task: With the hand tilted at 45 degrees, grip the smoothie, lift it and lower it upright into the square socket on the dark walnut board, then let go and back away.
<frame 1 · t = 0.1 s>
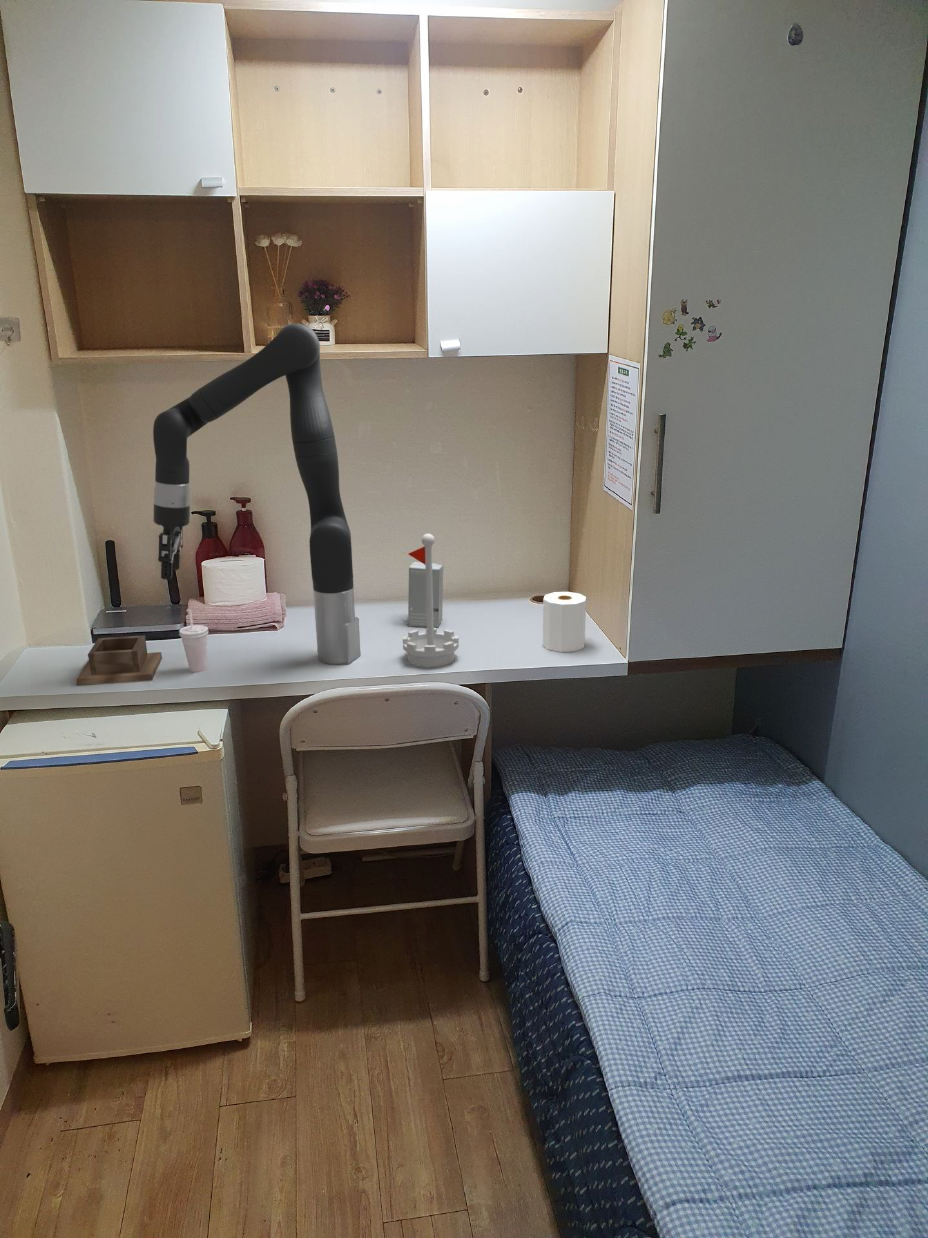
hand: (170, 573, 202), 22 cm above the table, tool pointing down, fingers open, 8 cm apart
flag stand: (431, 659, 213), on the table
smoothie: (198, 669, 208), on the table
socket board: (121, 671, 207), on the table
skincare box: (426, 623, 237), on the table
toilet paper: (563, 645, 220), on the table
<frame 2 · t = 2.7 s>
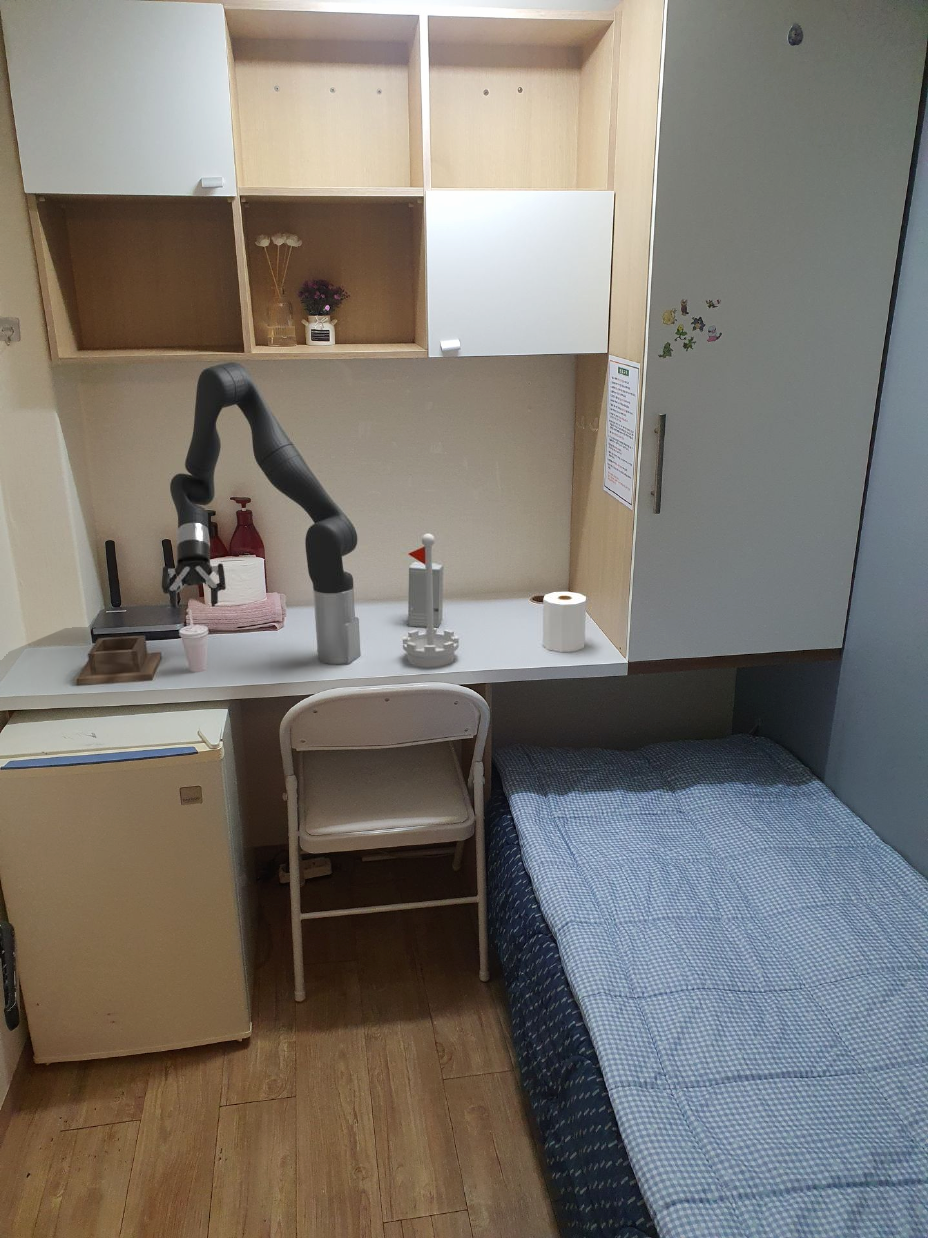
hand: (194, 606, 210), 13 cm above the table, tool tilted 45°, fingers open, 8 cm apart
nothing on the table moved.
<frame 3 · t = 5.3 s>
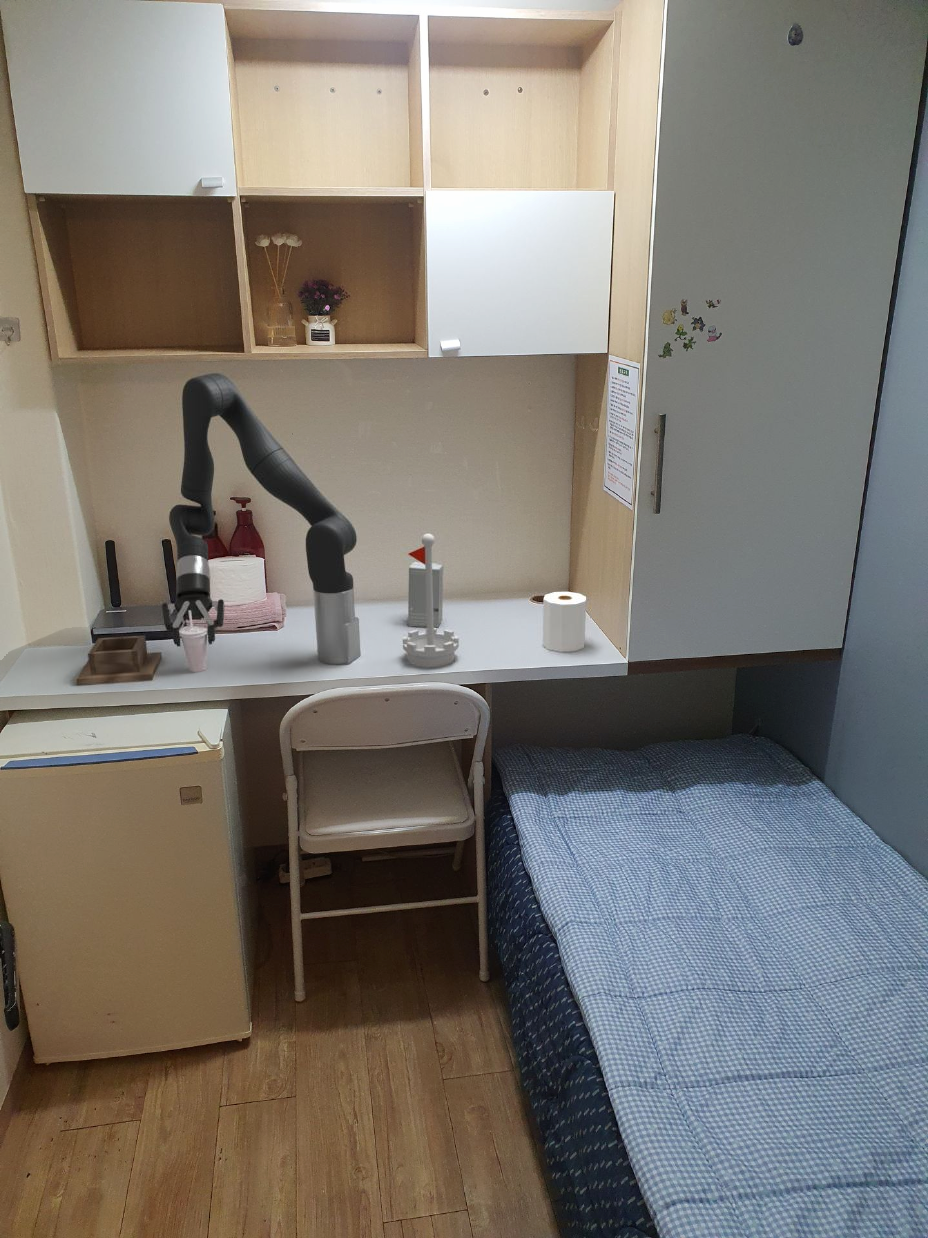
hand: (194, 643, 204), 7 cm above the table, tool tilted 45°, fingers closed on smoothie, 6 cm apart
smoothie: (198, 669, 208), on the table, touching gripper
everything else where it was.
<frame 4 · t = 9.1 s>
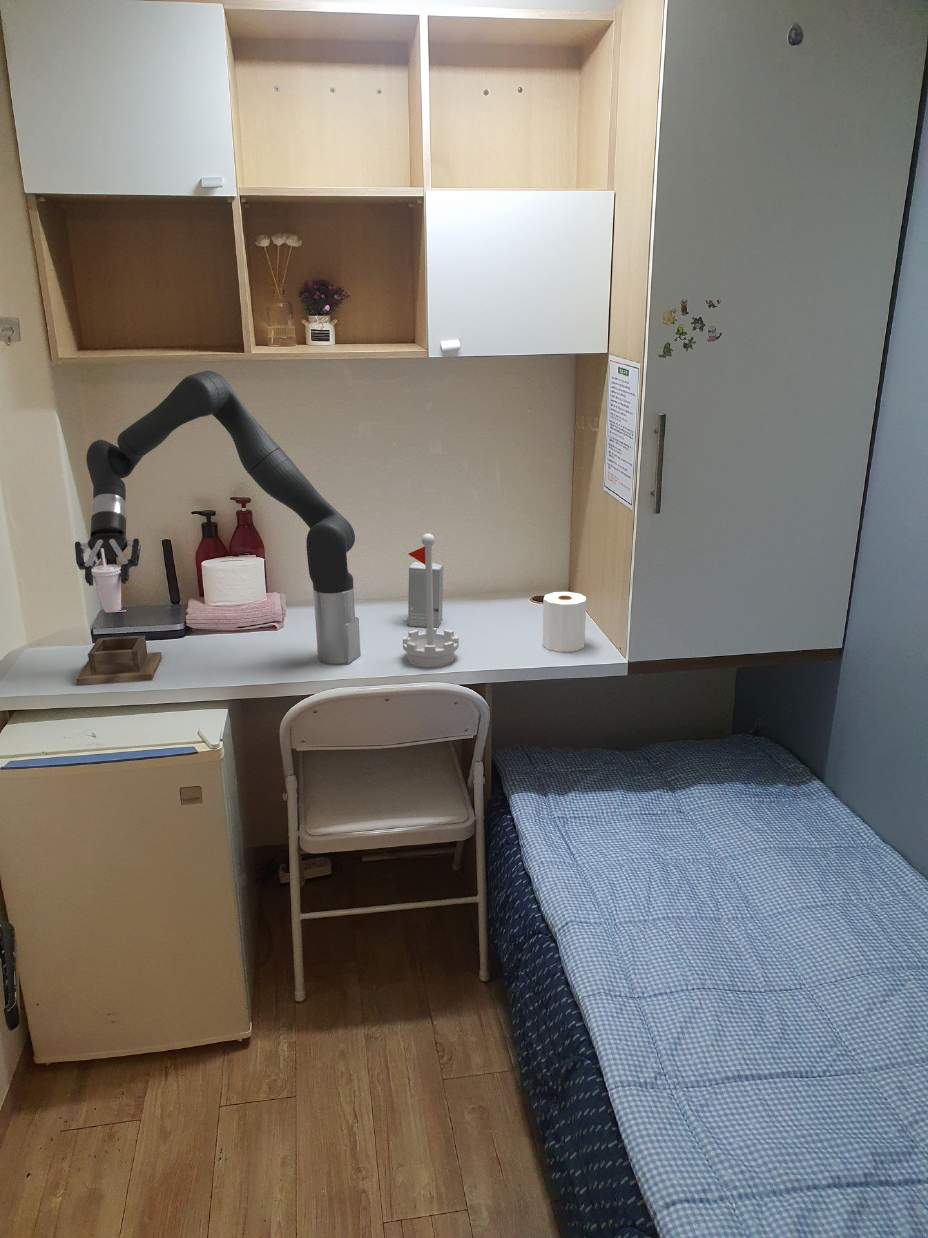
hand: (107, 582, 199), 22 cm above the table, tool tilted 45°, fingers closed on smoothie, 6 cm apart
smoothie: (112, 610, 203), point 15 cm above the table, touching gripper
everything else where it was.
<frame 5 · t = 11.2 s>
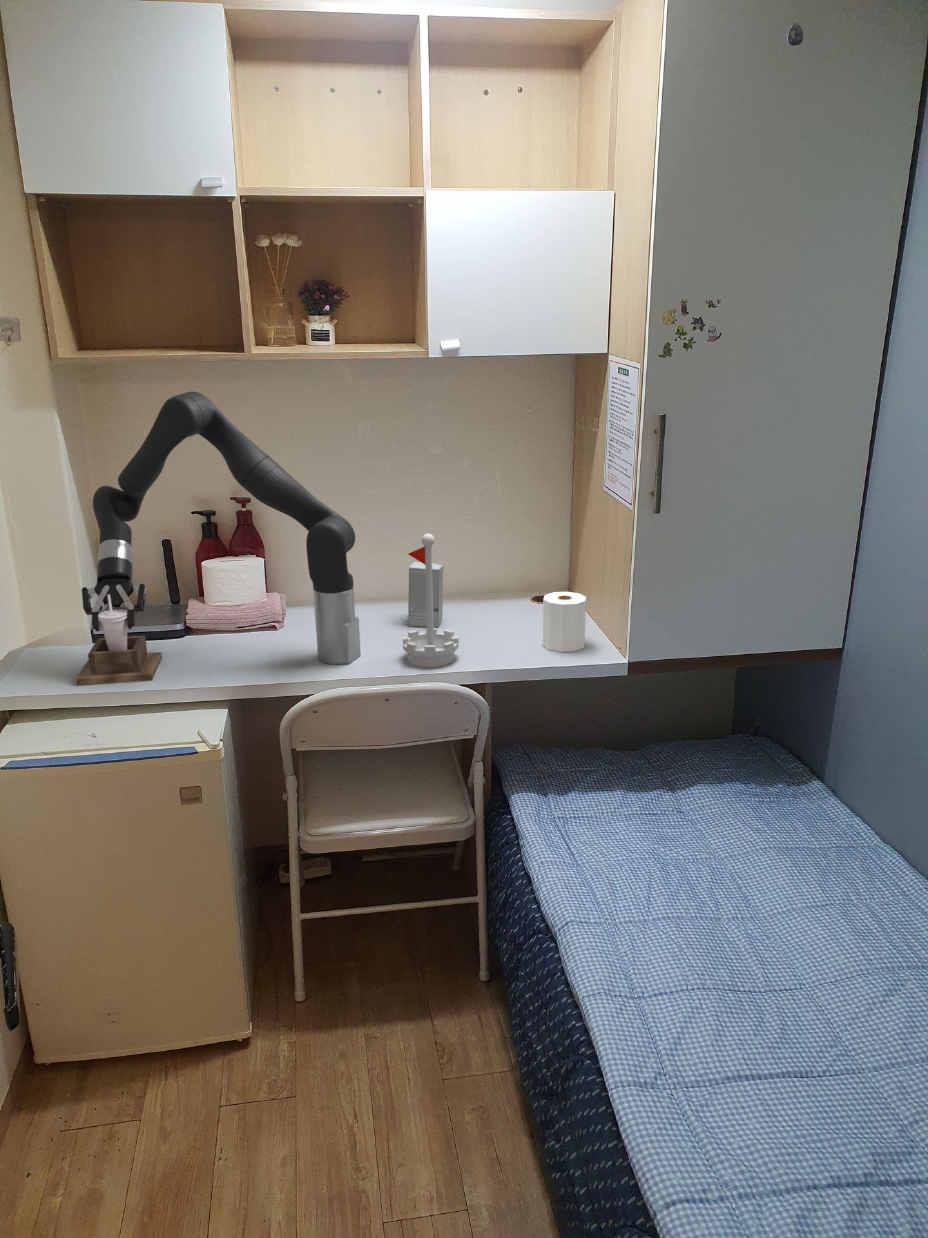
hand: (113, 628, 202), 11 cm above the table, tool tilted 45°, fingers closed on smoothie, 6 cm apart
smoothie: (118, 654, 206), point 4 cm above the table, touching gripper
everything else where it was.
when the fingers open (9 cm above the table, at t = 12.8 s): smoothie stays where it is, resting on socket board.
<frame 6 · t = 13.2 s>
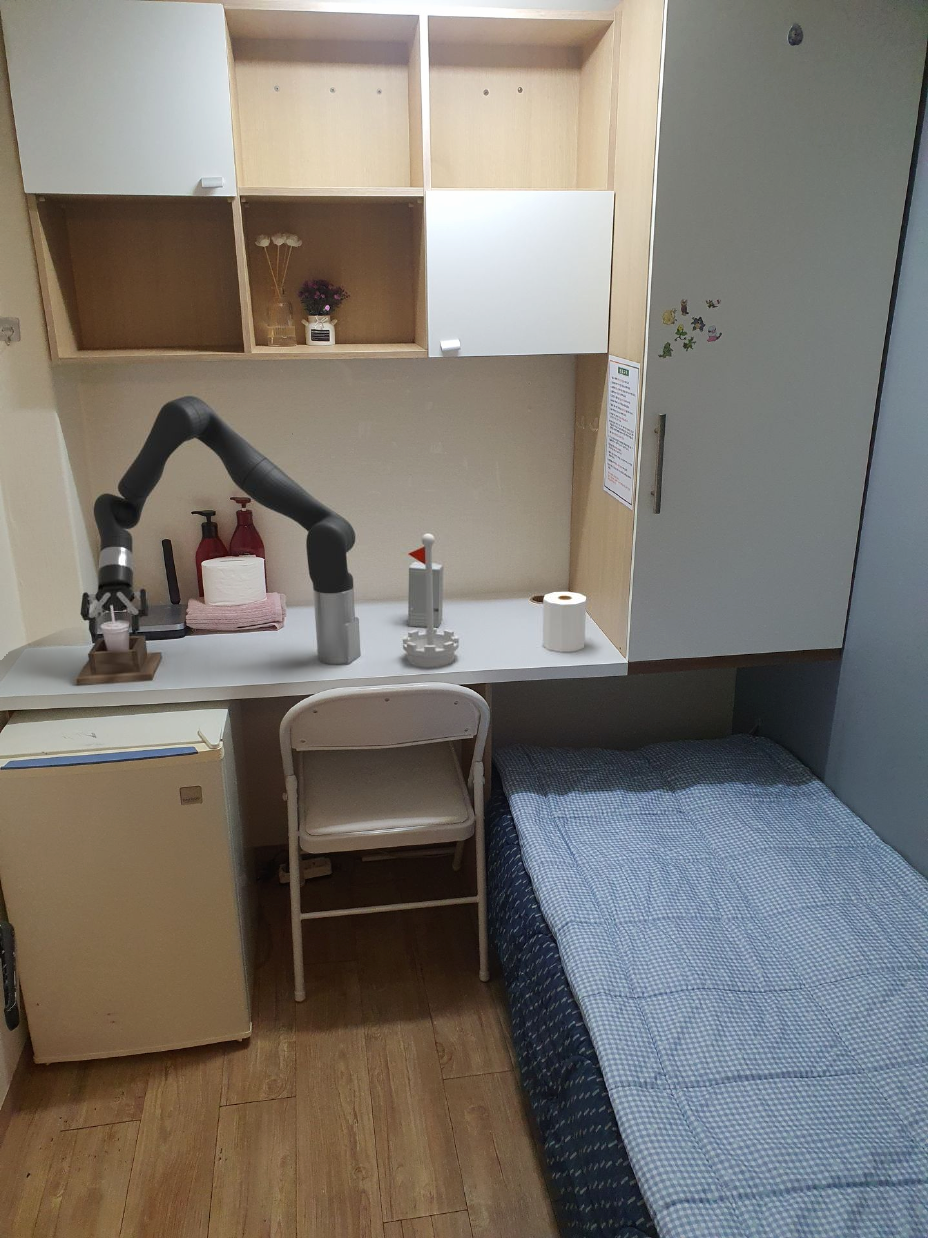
hand: (114, 633, 203), 10 cm above the table, tool tilted 45°, fingers open, 8 cm apart
smoothie: (120, 665, 207), point 1 cm above the table, touching socket board
everything else where it was.
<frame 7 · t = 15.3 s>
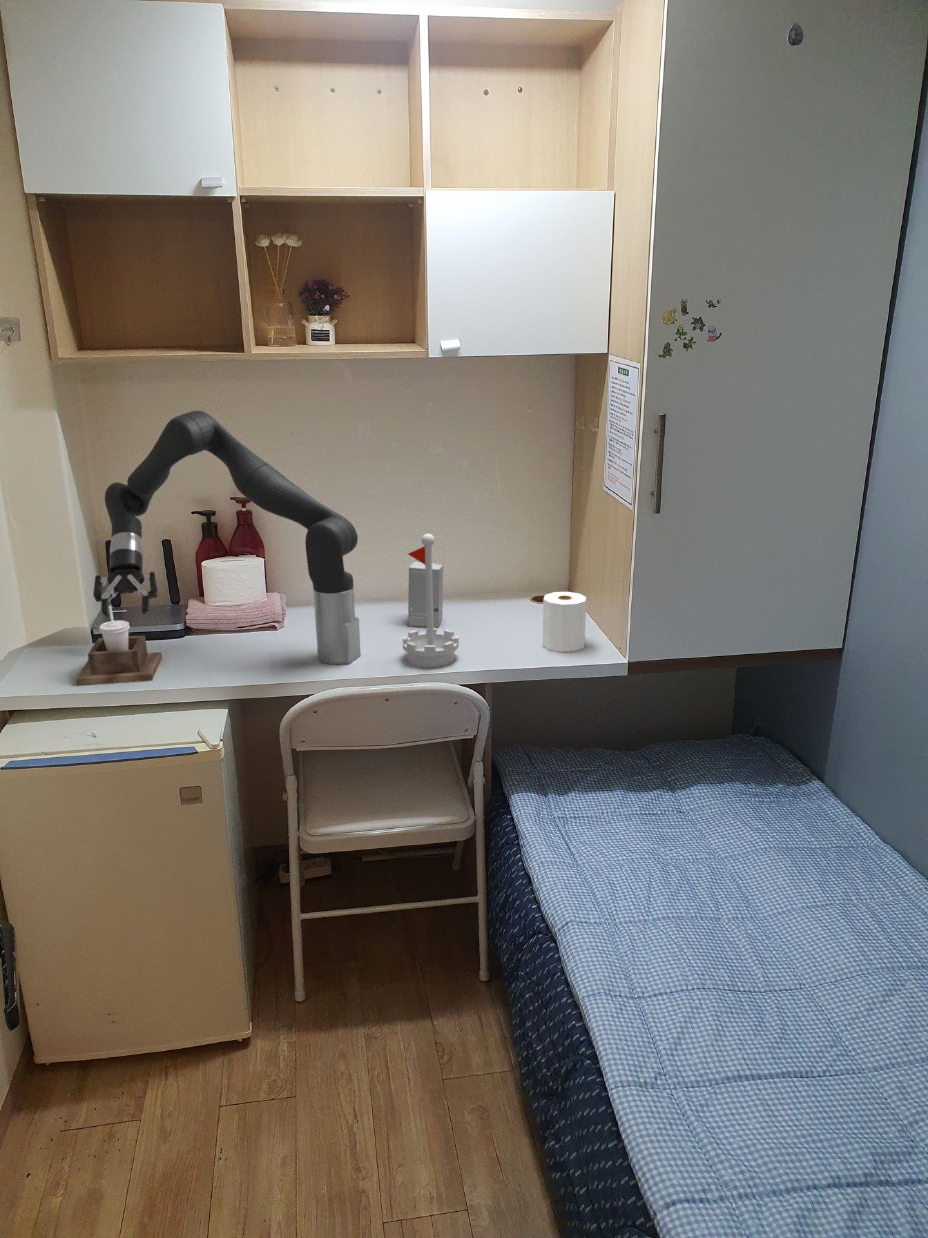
hand: (125, 613, 215), 10 cm above the table, tool tilted 45°, fingers open, 8 cm apart
nothing on the table moved.
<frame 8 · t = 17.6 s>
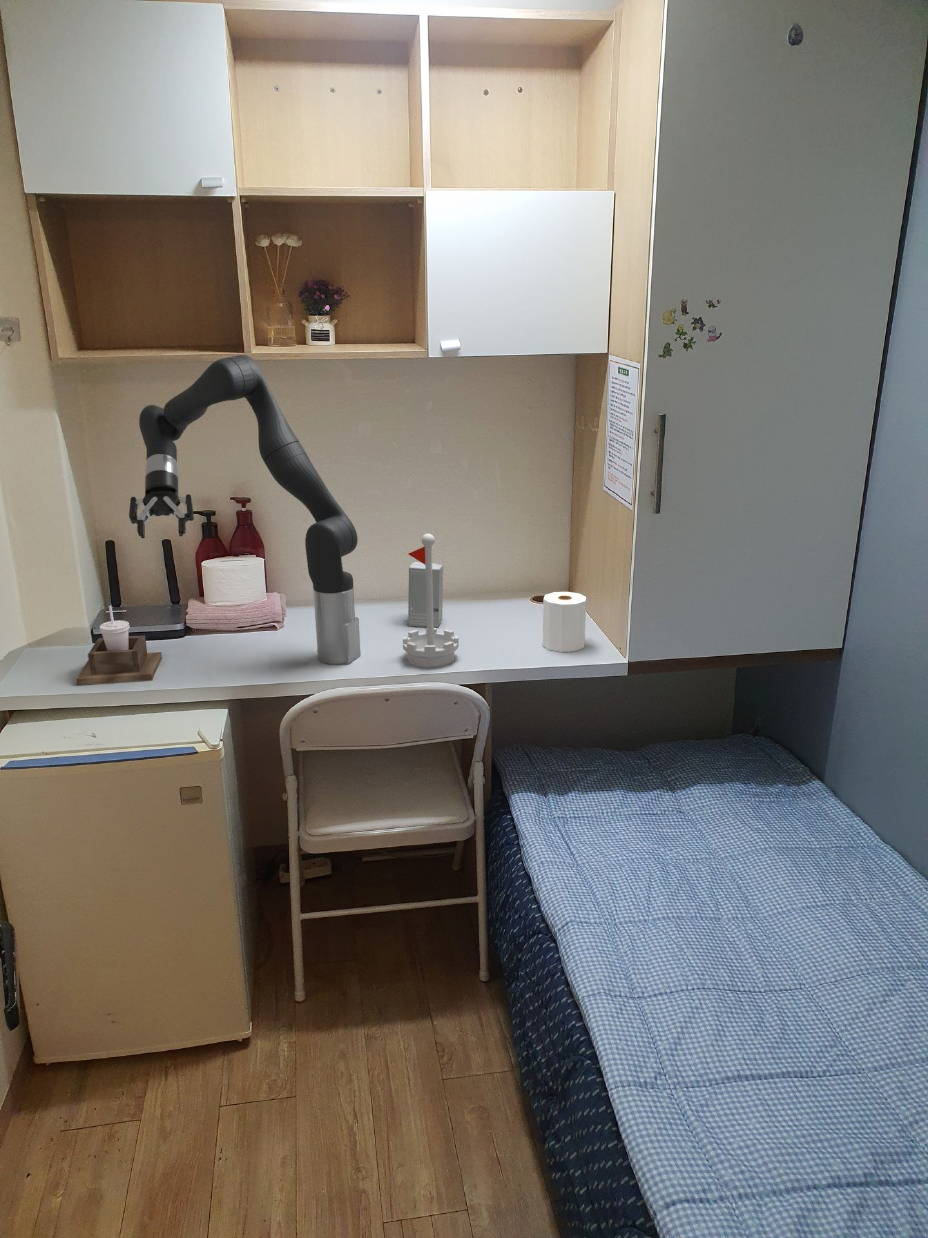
hand: (161, 535, 210), 29 cm above the table, tool tilted 45°, fingers open, 8 cm apart
nothing on the table moved.
at the end: smoothie 0.2 cm off-centre on the socket board, point 1.3 cm above the socket board's base; smoothie tilted 0°; the gripper is holding nothing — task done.
